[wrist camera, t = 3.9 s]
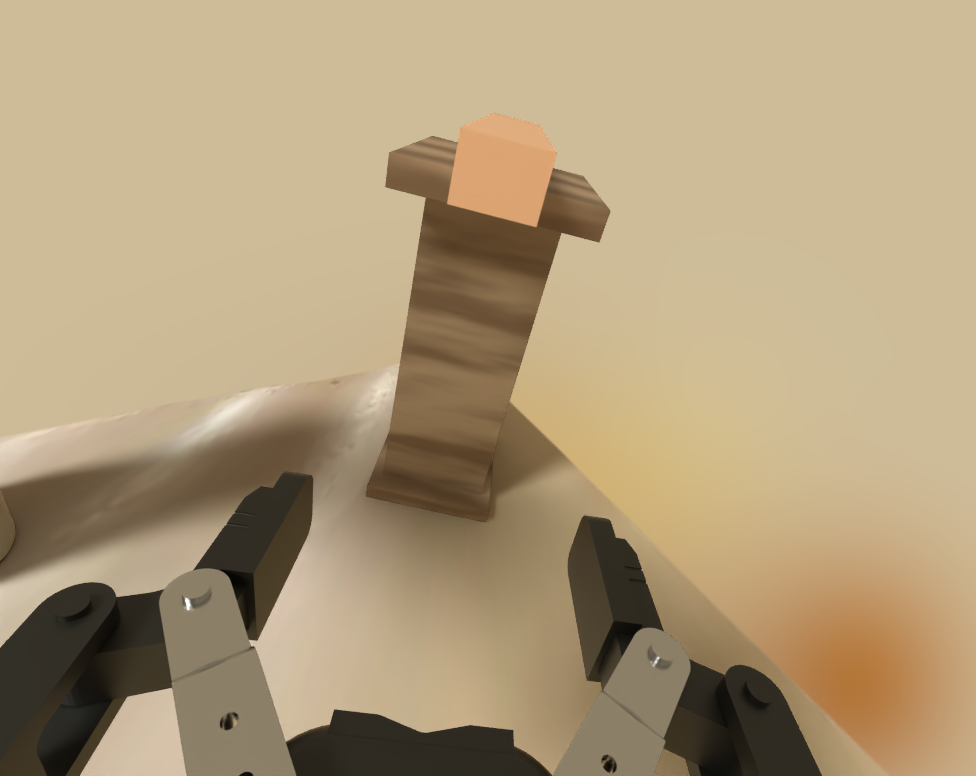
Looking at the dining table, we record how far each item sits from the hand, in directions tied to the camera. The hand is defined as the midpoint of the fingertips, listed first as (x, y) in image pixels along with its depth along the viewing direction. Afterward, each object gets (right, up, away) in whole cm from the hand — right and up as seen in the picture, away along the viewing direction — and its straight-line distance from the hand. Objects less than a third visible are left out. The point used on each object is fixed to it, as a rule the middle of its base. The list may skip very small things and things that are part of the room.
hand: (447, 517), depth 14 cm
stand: (-5, -5, +38) cm, 39 cm away
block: (+2, +18, +18) cm, 25 cm away
